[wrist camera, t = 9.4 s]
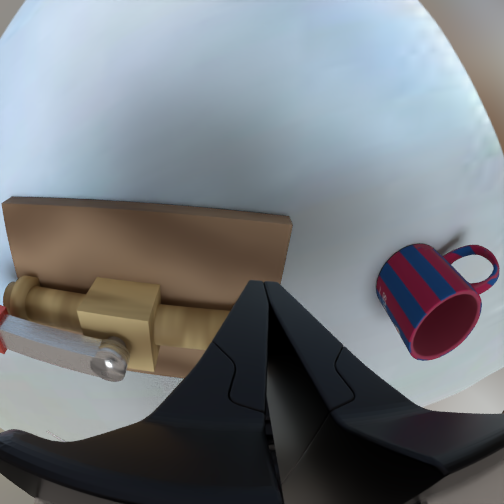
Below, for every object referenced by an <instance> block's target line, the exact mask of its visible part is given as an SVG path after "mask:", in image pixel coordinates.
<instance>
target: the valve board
mask: <svg viewBox="0 0 504 504" xmlns="http://www.w3.org/2000/svg"><path fill="white" fill-rule="evenodd" d="M2 209H3V215H4V221H5V226H6V232H7V236H8V241H9V246H10V250H11V254H12V259H13V262H14V266H15V270H16V274H17V277H18V280H17V281H16V282H11V283H9V284H8V286H7V287H6V289H5V292H4V296H3V305H4V307H6V308H7V311H8V314H9V315H11V316H14V317H17V318H20V319H24V320H27V321H30V322H34V323H37V324H41V325H44V326H48V327H52V328H55V329H59V330H63V331H67V332H71V333H75V334H79V335H83V336H88V337H92V338H97V339H101V340H103V339H111V340H115V341H117V342H119V343H121V344H122V345H124V346H125V347H126V348H127V350H128V351H129V353H130V360H129V363H128V366H127V370H128V371H134V372H140V373H147V374H154V375H162V376H170V377H178V378H185V377H186V376H187V375H188V374H189V372H190V371H191V370H192V369H193V368H194V366H195V365H196V364H197V363H198V361H199V360H200V358H201V357H202V355H203V354H204V352H205V351H206V349H207V348H208V346H209V344H210V343H211V342H212V340H213V338H214V337H215V335H216V333H217V332H218V330H219V329H220V327H221V325H222V324H223V322H224V320H225V319H226V317H227V316H228V314H229V312H230V311H231V309H232V307H233V306H234V304H235V303H236V301H237V299H238V298H239V296H240V294H241V293H242V291H243V289H244V288H245V286H246V285H247V283H248V281H249V280H259V281H263V283H264V282H265V281H273V282H278V283H279V284H281V279H282V274H283V270H284V265H285V260H286V255H287V251H288V246H289V241H290V236H291V231H292V226H293V225H292V222H291V220H290V218H289V216H282V215H273V214H264V213H255V212H245V211H235V210H225V209H214V208H203V207H192V206H180V205H168V204H154V203H140V202H125V201H109V200H91V199H70V198H43V197H11V198H9V199H8V200H6V201H4V202H3V203H2Z"/></svg>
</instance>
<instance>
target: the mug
mask: <svg viewBox="0 0 504 504" xmlns="http://www.w3.org/2000/svg"><path fill="white" fill-rule="evenodd" d="M472 254H473V255H480V256H483V257H485V258H486V259H488V260H489V261H490V262H491V263H492V265H493V267H494V270H493V272H492V274H491V275H490V276H489V277H488V278H487V279H486V280H484V281H482V282H479V283H472V284H470V283H469V282H467V281H466V280H465V279H464V278H463V277H462V276H461V275H460V274H459V273H458V272H457V271H456V270H455V269H454V268H453V267H452V266H451V264H452V263H453V262H454V261H456V260H457V259H460V258H462V257H464V256H468V255H472ZM498 277H499V264H498V262H497V260H496V258H495V256H494V255H493V253H492V252H490V251H489V250H488V249H486V248H484V247H482V246H479V245H467V246H463V247H460V248H458V249H455V250H453V251H451V252H449V253H447V254H446V255H444V256H442V255H440V254H439V253H438V252H437V251H436V250H435V249H434V248H432V247H431V246H429V245H425V244H415V245H411V246H408V247H405V248H403V249H401V250H400V251H398V252H397V253H395V254H394V255H393V256H392V257H391V258H390V259H389V260H388V261H387V263H386V264H385V265H384V267H383V268H382V270H381V272H380V274H379V277H378V280H377V286H376V291H377V296H378V298H379V300H380V302H381V304H382V305H383V307H384V309H385V310H386V312H387V314H388V315H389V317H390V319H391V320H392V322H393V324H394V326H395V327H396V329H397V331H398V333H399V334H400V336H401V338H402V340H403V342H404V343H405V345H406V347H407V349H408V351H409V352H410V354H411V356H412V357H413V358H415V359H417V360H422V361H424V360H432V359H436V358H439V357H441V356H443V355H445V354H447V353H449V352H450V351H452V350H453V349H455V348H456V347H457V346H458V345H459V344H461V343H462V342H463V341H464V340H465V339H466V338H467V336H468V335H469V334H470V333H471V331H472V330H473V328H474V327H475V325H476V323H477V321H478V319H479V316H480V313H481V307H482V302H481V298H480V296H479V294H481V293H483V292H485V291H486V290H488V289H489V288H490V287H492V286H493V285H494V283H495V282H496V281H497V279H498Z"/></svg>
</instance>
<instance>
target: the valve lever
mask: <svg viewBox="0 0 504 504" xmlns="http://www.w3.org/2000/svg"><path fill="white" fill-rule="evenodd" d="M7 349H9V350H12V351H14V352H17V353H20V354H23V355H26V356H29V357H31V358H34V359H37V360H41V361H44V362H47V363H50V364H53V365H57V366H60V367H63V368H67V369H70V370H74V371H78V372H82V373H85V374H89V375H93V376H97V377H101V378H102V379H105V380H108V381H113V382H117V381H121V380H122V379H123V378H124V376H125V373H126V370H127V366H128V363H129V360H130V353H129V351H128V350H127V348H126V347H125V346H124V345H122V344H121V343H119V342H117V341H115V340H111V339H103V340H101V339H97V338H92V337H88V336H83V335H79V334H75V333H71V332H67V331H63V330H59V329H55V328H52V327H48V326H44V325H41V324H37V323H34V322H30V321H27V320H24V319H20V318H17V317H14V316H11V315H9V314H8V311H7V308H6V307H4V306H1V305H0V353H3V354H5V352H6V350H7Z"/></svg>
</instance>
